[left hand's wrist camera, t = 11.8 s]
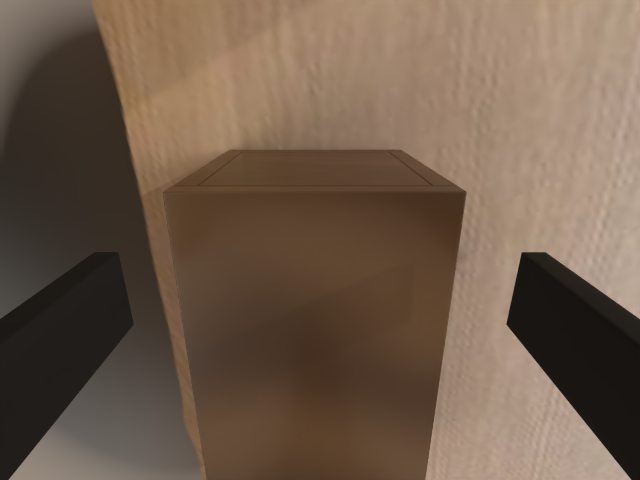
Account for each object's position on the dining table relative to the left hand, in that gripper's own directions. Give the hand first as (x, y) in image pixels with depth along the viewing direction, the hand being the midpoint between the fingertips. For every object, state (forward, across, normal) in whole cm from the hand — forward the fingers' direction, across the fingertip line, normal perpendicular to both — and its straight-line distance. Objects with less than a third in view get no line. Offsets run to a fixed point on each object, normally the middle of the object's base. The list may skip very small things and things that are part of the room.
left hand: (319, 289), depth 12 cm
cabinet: (+14, 0, -6) cm, 15 cm away
